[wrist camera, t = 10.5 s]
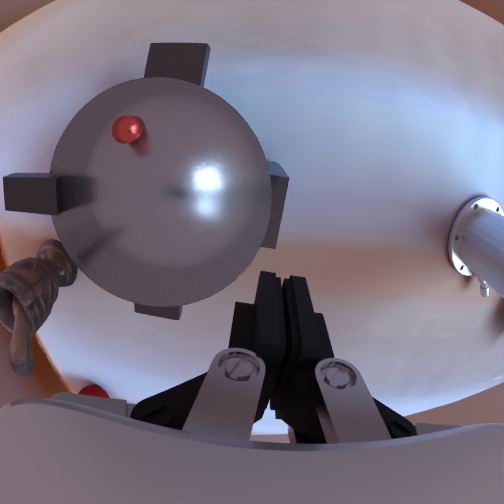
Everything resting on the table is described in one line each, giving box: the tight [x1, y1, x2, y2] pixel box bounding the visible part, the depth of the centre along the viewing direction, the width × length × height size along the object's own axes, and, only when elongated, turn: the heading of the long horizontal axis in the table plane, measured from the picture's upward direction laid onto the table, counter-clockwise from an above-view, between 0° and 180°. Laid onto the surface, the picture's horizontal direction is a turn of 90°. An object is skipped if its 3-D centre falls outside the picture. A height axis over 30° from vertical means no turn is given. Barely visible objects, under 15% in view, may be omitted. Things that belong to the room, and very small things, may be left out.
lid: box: [3, 77, 272, 307], centre depth 20 cm, size 24×19×3 cm
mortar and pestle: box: [0, 241, 77, 376], centre depth 27 cm, size 12×9×20 cm
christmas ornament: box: [79, 385, 109, 398], centre depth 43 cm, size 7×7×10 cm
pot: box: [134, 43, 289, 320], centre depth 27 cm, size 20×27×10 cm
